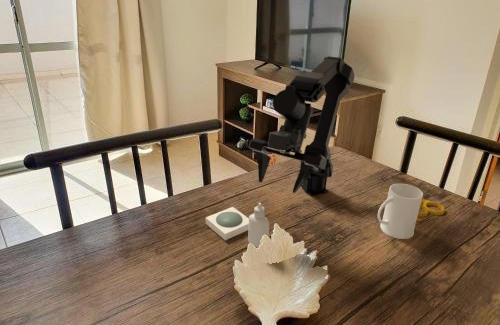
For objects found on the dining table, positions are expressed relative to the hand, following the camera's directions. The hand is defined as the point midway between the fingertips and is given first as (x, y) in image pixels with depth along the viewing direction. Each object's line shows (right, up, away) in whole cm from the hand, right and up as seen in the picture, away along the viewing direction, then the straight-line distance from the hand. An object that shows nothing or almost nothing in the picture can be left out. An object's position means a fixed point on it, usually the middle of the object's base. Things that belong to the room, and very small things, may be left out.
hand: (276, 187), depth 89 cm
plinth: (-12, -11, +9) cm, 19 cm away
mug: (+31, -12, +9) cm, 35 cm away
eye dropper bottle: (-5, -15, +2) cm, 16 cm away
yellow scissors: (+42, -9, +19) cm, 47 cm away
